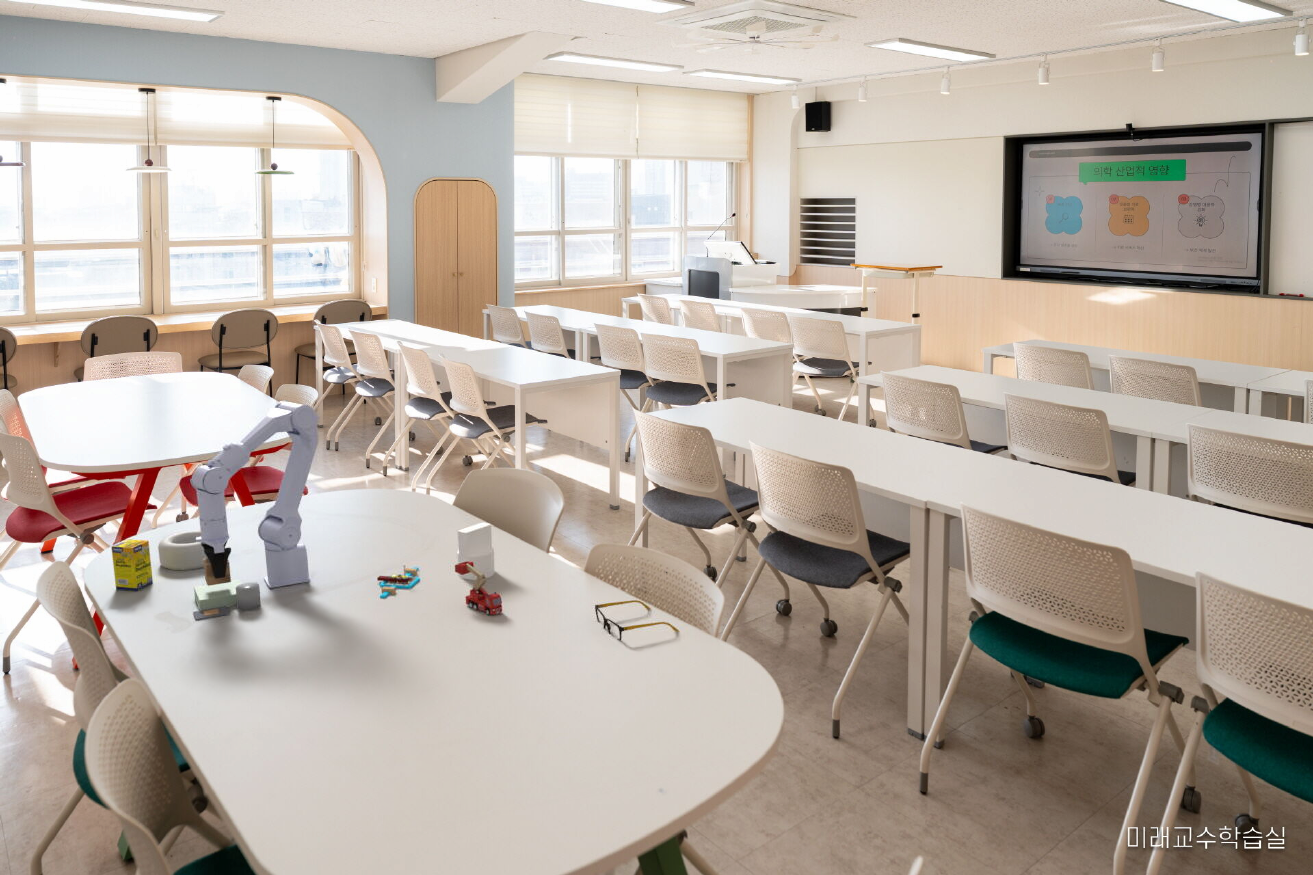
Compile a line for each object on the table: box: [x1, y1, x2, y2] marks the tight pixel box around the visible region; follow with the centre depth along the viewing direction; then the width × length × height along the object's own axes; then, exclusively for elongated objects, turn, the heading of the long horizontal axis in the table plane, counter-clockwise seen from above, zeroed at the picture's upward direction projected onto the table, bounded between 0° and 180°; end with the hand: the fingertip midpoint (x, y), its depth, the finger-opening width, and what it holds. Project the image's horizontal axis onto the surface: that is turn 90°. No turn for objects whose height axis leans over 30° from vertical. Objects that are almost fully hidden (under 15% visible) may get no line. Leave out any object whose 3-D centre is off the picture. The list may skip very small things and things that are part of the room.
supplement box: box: [110, 538, 154, 592], centre depth 249 cm, size 6×6×11 cm
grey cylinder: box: [236, 582, 262, 612], centre depth 237 cm, size 5×5×5 cm
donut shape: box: [157, 529, 208, 571], centre depth 267 cm, size 15×15×7 cm
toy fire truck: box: [454, 561, 503, 616], centre depth 236 cm, size 3×14×10 cm, turn 46°
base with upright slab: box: [456, 521, 496, 581], centre depth 258 cm, size 9×9×12 cm
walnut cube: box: [203, 558, 232, 586], centre depth 240 cm, size 5×5×5 cm
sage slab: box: [193, 579, 242, 611], centre depth 241 cm, size 10×10×3 cm
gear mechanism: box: [377, 564, 421, 599], centre depth 252 cm, size 20×5×9 cm
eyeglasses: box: [594, 599, 680, 641], centre depth 226 cm, size 14×14×4 cm
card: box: [192, 606, 230, 621], centre depth 233 cm, size 7×5×1 cm
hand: (218, 573), depth 240 cm, fingers closed on walnut cube, 5 cm apart
